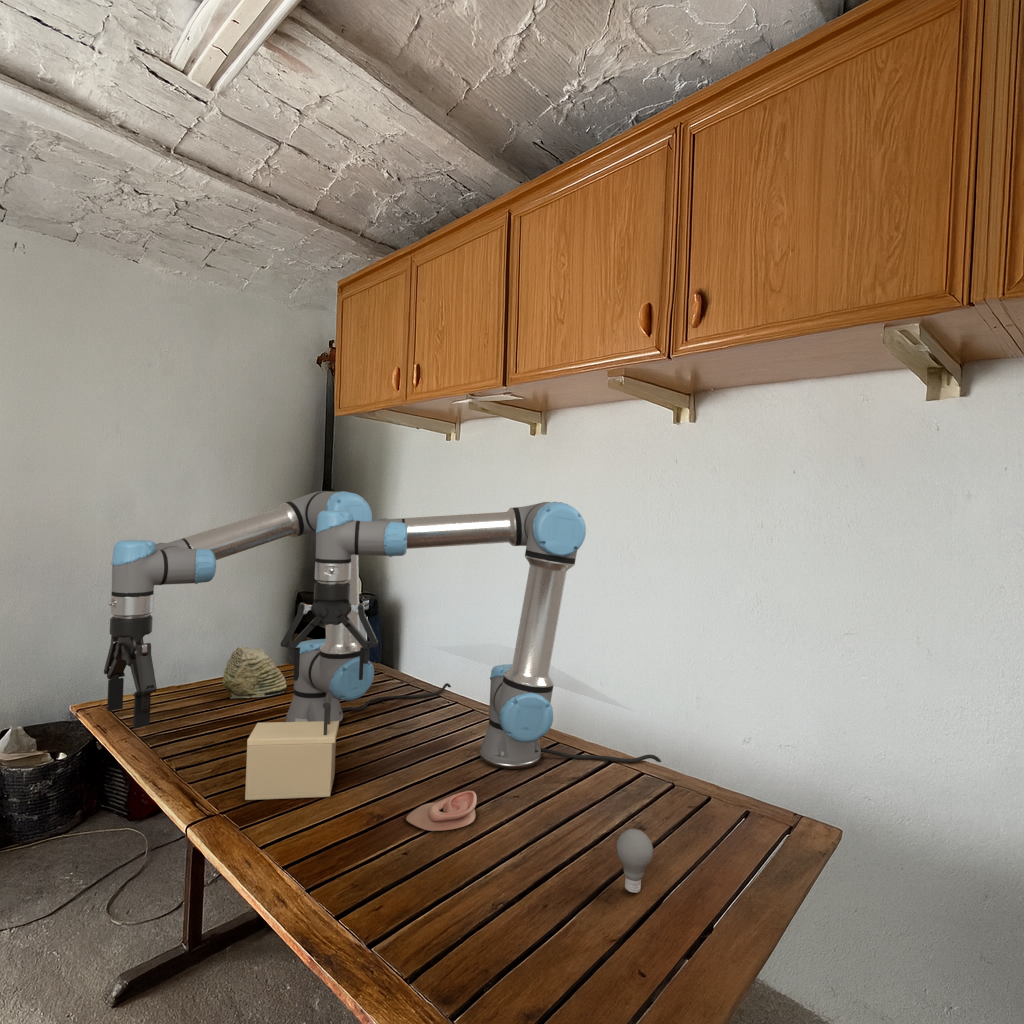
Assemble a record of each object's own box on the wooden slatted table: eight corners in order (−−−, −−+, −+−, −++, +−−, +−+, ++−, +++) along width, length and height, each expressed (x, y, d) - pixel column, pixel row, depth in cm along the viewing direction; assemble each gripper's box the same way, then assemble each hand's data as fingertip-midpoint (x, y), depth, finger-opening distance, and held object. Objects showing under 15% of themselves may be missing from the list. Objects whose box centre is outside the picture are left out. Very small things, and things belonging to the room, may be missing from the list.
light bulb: (610, 879, 108) (613, 822, 108) (644, 879, 109) (647, 822, 109) (619, 902, 102) (622, 840, 102) (655, 901, 103) (658, 840, 103)
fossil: (218, 695, 195) (220, 647, 195) (278, 685, 208) (279, 640, 207) (228, 703, 189) (230, 653, 188) (289, 692, 201) (290, 645, 201)
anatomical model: (400, 806, 123) (421, 781, 134) (399, 826, 123) (420, 799, 134) (466, 816, 120) (481, 789, 131) (465, 836, 120) (481, 808, 131)
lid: (338, 726, 144) (340, 689, 144) (334, 743, 134) (336, 704, 134) (257, 727, 141) (258, 690, 140) (247, 745, 131) (248, 705, 130)
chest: (334, 776, 144) (336, 726, 144) (330, 796, 134) (332, 743, 134) (255, 778, 141) (257, 728, 141) (244, 800, 131) (247, 745, 131)
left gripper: (88, 608, 135) (85, 707, 136) (137, 627, 120) (132, 738, 120) (127, 605, 141) (123, 699, 141) (178, 622, 126) (173, 728, 126)
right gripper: (268, 582, 132) (265, 684, 132) (390, 584, 136) (387, 682, 137) (275, 578, 139) (271, 674, 139) (390, 580, 144) (387, 673, 144)
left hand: (127, 717), depth 131 cm, fingers open, 13 cm apart
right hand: (328, 678), depth 138 cm, fingers open, 13 cm apart
